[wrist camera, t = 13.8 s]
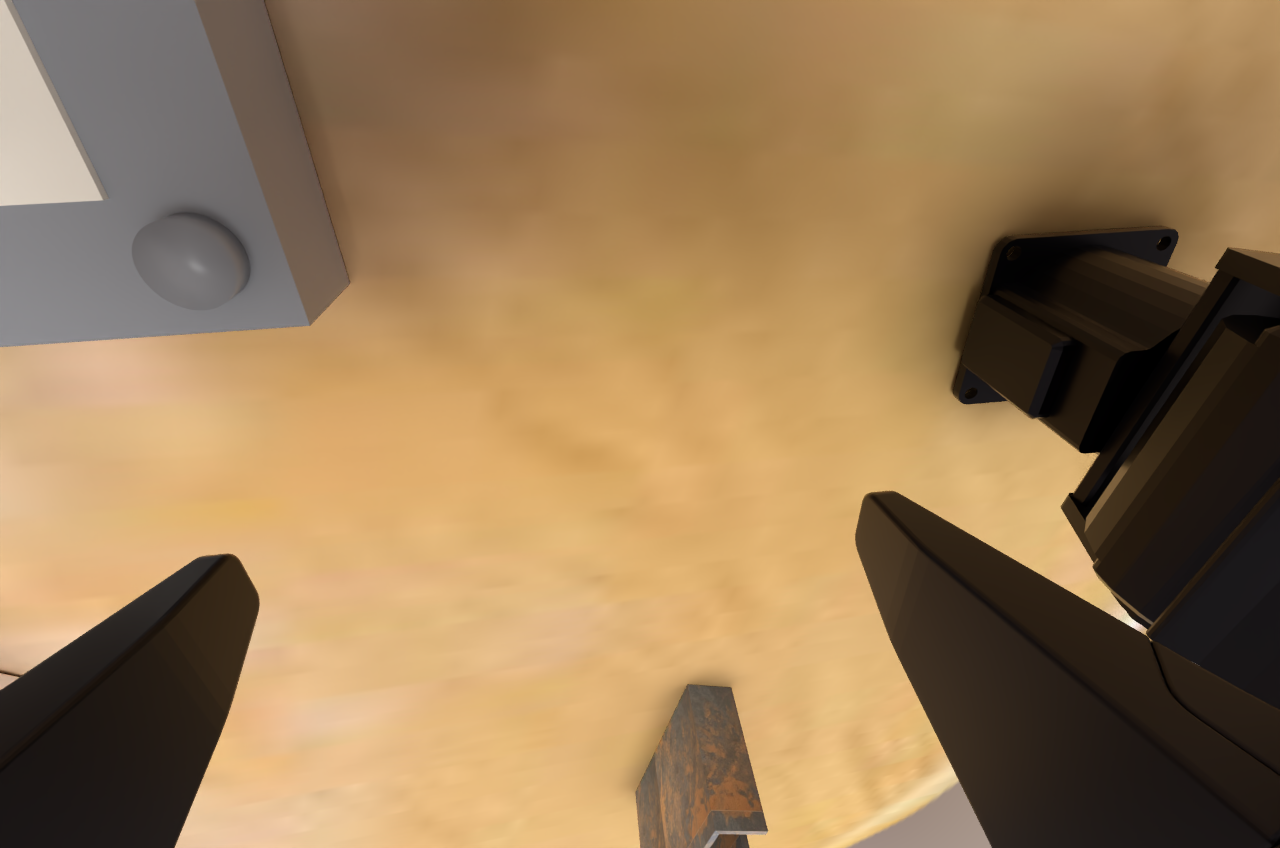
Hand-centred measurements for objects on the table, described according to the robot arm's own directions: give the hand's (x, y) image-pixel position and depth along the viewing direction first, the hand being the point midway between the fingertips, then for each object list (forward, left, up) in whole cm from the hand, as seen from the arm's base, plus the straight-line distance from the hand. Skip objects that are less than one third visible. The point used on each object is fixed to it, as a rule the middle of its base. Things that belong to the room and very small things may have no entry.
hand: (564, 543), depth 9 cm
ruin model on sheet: (-4, +29, -14) cm, 33 cm away
